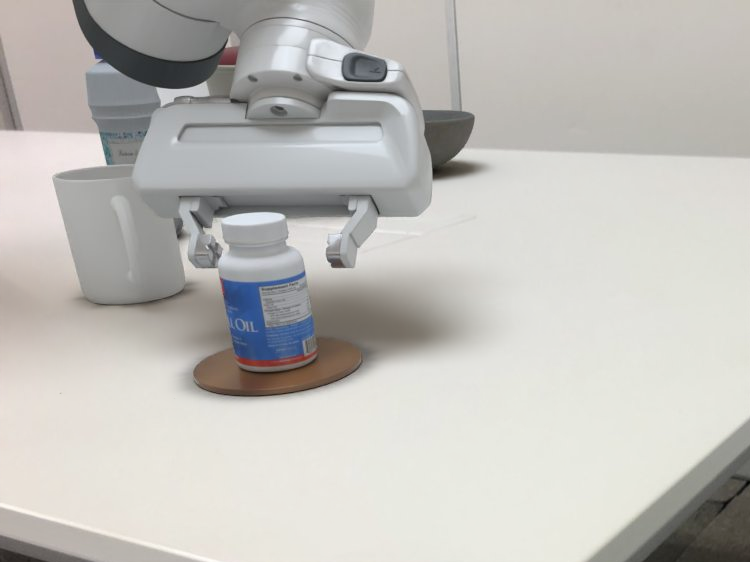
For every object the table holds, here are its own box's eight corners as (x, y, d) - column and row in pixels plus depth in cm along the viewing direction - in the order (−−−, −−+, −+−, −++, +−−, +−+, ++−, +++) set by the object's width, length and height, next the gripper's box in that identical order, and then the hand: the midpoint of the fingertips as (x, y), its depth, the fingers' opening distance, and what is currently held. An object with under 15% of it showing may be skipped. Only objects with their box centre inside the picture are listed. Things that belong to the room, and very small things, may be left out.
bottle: (119, 247, 104) (69, 35, 95) (120, 235, 110) (73, 33, 101) (189, 240, 107) (146, 33, 98) (187, 228, 112) (146, 31, 103)
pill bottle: (223, 361, 70) (194, 217, 66) (296, 343, 73) (273, 206, 69) (257, 380, 66) (228, 230, 62) (333, 361, 69) (310, 217, 65)
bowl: (303, 172, 147) (294, 113, 144) (428, 156, 160) (422, 102, 156) (376, 189, 133) (368, 125, 129) (506, 171, 145) (502, 112, 142)
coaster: (179, 402, 64) (177, 396, 64) (209, 348, 74) (208, 343, 73) (358, 387, 66) (357, 381, 66) (364, 337, 76) (364, 332, 75)
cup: (179, 275, 93) (154, 161, 89) (203, 305, 84) (177, 179, 79) (79, 289, 89) (48, 170, 85) (93, 322, 80) (59, 191, 76)
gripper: (134, 66, 70) (95, 238, 66) (425, 63, 69) (406, 237, 65) (177, 126, 76) (144, 288, 72) (446, 124, 75) (429, 287, 71)
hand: (271, 264), depth 68 cm, fingers open, 8 cm apart
